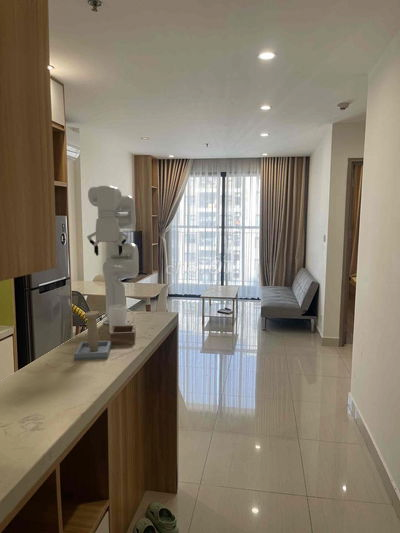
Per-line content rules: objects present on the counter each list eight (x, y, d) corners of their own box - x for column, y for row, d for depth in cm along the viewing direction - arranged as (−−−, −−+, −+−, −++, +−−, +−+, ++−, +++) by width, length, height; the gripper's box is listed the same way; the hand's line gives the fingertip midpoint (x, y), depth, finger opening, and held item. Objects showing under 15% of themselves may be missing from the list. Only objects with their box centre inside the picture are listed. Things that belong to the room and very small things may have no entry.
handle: (102, 347, 155) (100, 311, 153) (96, 353, 149) (94, 315, 147) (91, 347, 156) (88, 310, 154) (84, 353, 150) (82, 315, 147)
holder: (112, 337, 172) (112, 326, 172) (135, 336, 174) (135, 325, 173) (110, 345, 162) (109, 333, 161) (134, 344, 163) (134, 332, 162)
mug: (137, 329, 184) (136, 304, 182) (131, 335, 175) (130, 309, 174) (113, 328, 185) (112, 304, 184) (106, 334, 177) (105, 308, 175)
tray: (81, 347, 159) (80, 341, 158) (111, 346, 160) (111, 340, 160) (74, 360, 145) (74, 354, 145) (107, 358, 146) (107, 352, 146)
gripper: (128, 215, 172) (129, 253, 174) (87, 215, 170) (89, 254, 172) (127, 215, 164) (128, 255, 167) (84, 215, 162) (86, 256, 164)
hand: (108, 255), depth 169 cm, fingers open, 9 cm apart
